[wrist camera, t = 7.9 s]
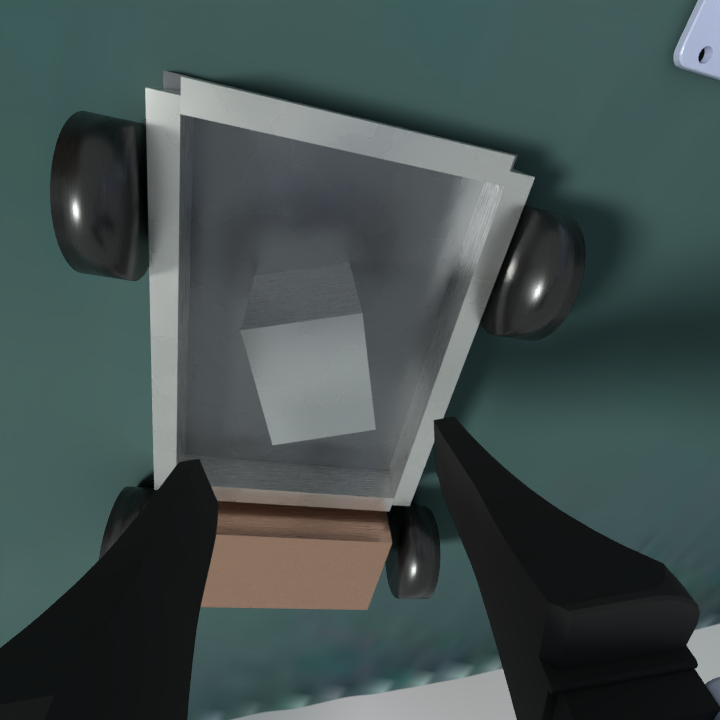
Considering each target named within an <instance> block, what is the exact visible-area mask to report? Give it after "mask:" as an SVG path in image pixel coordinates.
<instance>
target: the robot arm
mask: <svg viewBox="0 0 720 720" xmlns="http://www.w3.org/2000/svg"><path fill="white" fill-rule="evenodd" d="M702 49H704V52H705V54H704V57H703V59H702V60H701V62H699V60H698V56H699V53H700V52H701V50H702ZM674 63H675V65H676V66H677V67H679V68H681V69H684V70H687V71H691V72H694V73H697V74H701V75H704V76H707V77H710V78H714V79H717V80H720V0H698V1H697V3H696V6H695V8H694V10H693V12H692V14H691V16H690V18H689V21H688V23H687V25H686V27H685V29H684V31H683V34H682V36H681V38H680V40H679V42H678V44H677V46H676V49H675V52H674ZM434 442H435V464H436V471H437V475H438V478H439V482H440V485H441V489H442V492H443V496H444V499H445V501H446V504H447V506H448V509H449V511H450V514H451V516H452V519H453V521H454V524H455V526H456V528H457V531H458V533H459V536H460V538H461V540H462V543H463V545H464V548H465V550H466V553H467V555H468V557H469V560H470V562H471V565H472V568H473V570H474V573H475V576H476V579H477V582H478V585H479V588H480V592H481V595H482V598H483V601H484V605H485V608H486V611H487V615H488V618H489V621H490V625H491V628H492V632H493V635H494V638H495V642H496V645H497V649H498V652H499V656H500V659H501V663H502V667H503V670H504V674H505V677H506V681H507V684H508V688H509V691H510V695H511V699H512V703H513V707H514V710H515V714H516V718H517V720H720V677H718V678H715V679H713V680H711V681H709V682H707V683H706V684H704V682H703V681H702V679H701V678H700V676H699V675H698V673H697V672H696V670H695V669H694V668H697V666H698V664H697V661H696V659H695V658H694V656H693V655H692V653H691V652H690V650H689V649H688V648H687V646H686V644H687V643H688V641H689V639H690V637H691V635H692V633H693V631H694V629H695V627H696V625H697V622H698V618H699V614H700V612H699V608H698V605H697V603H696V602H695V601H694V600H693V598H692V597H691V596H690V594H689V593H688V592H687V590H686V589H685V588H684V586H683V585H682V584H681V583H680V582H679V580H678V579H677V578H676V577H675V576H674V575H673V574H672V573H671V572H670V571H669V570H668V568H667V567H666V566H665V565H664V564H663V563H661V562H659V561H656V560H654V559H652V558H650V557H648V556H645V555H643V554H641V553H639V552H637V551H634V550H632V549H630V548H628V547H625V546H623V545H621V544H619V543H617V542H615V541H613V540H611V539H610V538H608V537H606V536H604V535H602V534H600V533H598V532H596V531H594V530H593V529H591V528H589V527H587V526H586V525H584V524H582V523H581V522H579V521H577V520H576V519H574V518H572V517H571V516H569V515H567V514H566V513H564V512H562V511H561V510H559V509H558V508H556V507H555V506H553V505H552V504H550V503H549V502H548V501H546V500H545V499H543V498H542V497H541V496H539V495H538V494H536V493H535V492H534V491H532V490H531V489H530V488H528V487H527V486H526V485H525V484H523V483H522V482H521V481H520V480H518V479H517V478H516V477H515V476H514V475H512V474H511V473H510V472H509V471H508V470H507V469H505V468H504V467H503V466H502V465H501V464H500V463H499V462H498V461H497V460H496V459H495V458H493V457H492V456H491V455H490V454H489V453H488V452H487V451H486V450H485V449H484V448H483V447H482V446H481V445H480V444H479V443H478V442H477V441H476V440H475V439H474V438H473V437H472V436H471V435H470V434H469V433H468V432H467V430H466V429H465V428H464V427H463V426H462V425H461V424H460V423H459V421H458V420H457V419H456V418H454V417H449V418H443V419H437V420H434ZM218 509H219V504H218V501H217V499H216V497H215V494H214V492H213V490H212V487H211V485H210V483H209V480H208V478H207V476H206V473H205V471H204V469H203V466H202V464H201V462H200V459H194V460H188V461H182V462H179V463H178V464H177V465H176V467H175V468H174V469H173V471H172V472H171V473H170V474H169V476H168V477H167V478H166V480H165V481H164V482H163V484H162V485H161V486H160V488H159V489H158V490H157V492H156V493H155V494H154V495H153V497H152V498H151V499H150V501H149V502H148V503H147V504H146V506H145V507H144V508H143V510H142V511H141V512H140V513H139V515H138V516H137V517H136V518H135V520H134V521H133V522H132V523H131V524H130V526H129V527H128V528H127V529H126V530H125V531H124V533H123V534H122V535H121V536H120V537H119V538H118V540H117V541H116V542H115V543H114V544H113V545H112V547H111V548H110V549H109V550H108V551H107V552H106V553H105V554H104V555H103V556H102V558H101V559H100V560H99V561H98V562H97V563H96V564H95V565H94V566H93V567H92V568H91V569H90V570H89V571H88V572H87V573H86V574H85V575H84V576H83V577H82V578H81V579H80V580H79V581H78V582H77V583H76V584H75V585H74V586H73V587H71V588H70V589H69V590H68V591H67V592H66V593H65V594H64V595H63V596H62V597H60V598H59V599H58V600H57V601H56V602H55V603H54V604H53V605H52V606H50V607H49V608H48V609H47V610H46V611H45V612H44V613H43V614H42V615H40V616H39V617H38V618H37V619H36V620H34V621H33V622H32V623H31V624H30V625H28V626H27V627H26V628H25V629H24V630H22V631H21V632H20V633H19V634H17V635H16V636H15V637H14V638H12V639H11V640H10V641H9V642H7V643H6V644H5V645H3V646H2V647H1V648H0V720H187V715H188V702H189V691H190V681H191V671H192V661H193V653H194V645H195V637H196V629H197V623H198V617H199V612H200V607H201V603H202V598H203V594H204V589H205V585H206V580H207V576H208V571H209V567H210V563H211V558H212V553H213V549H214V544H215V539H216V532H217V522H218Z"/></svg>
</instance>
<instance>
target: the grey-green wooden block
mask: <svg viewBox="0 0 720 720" xmlns="http://www.w3.org/2000/svg"><path fill="white" fill-rule="evenodd" d="M240 331H241V334H242V338H243V341H244V345H245V349H246V352H247V356H248V359H249V363H250V366H251V370H252V374H253V377H254V381H255V384H256V388H257V391H258V395H259V399H260V402H261V406H262V409H263V413H264V416H265V420H266V424H267V427H268V431H269V434H270V438H271V442H272V445H278V444H285V443H291V442H298V441H304V440H311V439H317V438H324V437H331V436H337V435H344V434H350V433H357V432H363V431H370V430H376V427H375V418H374V409H373V401H372V392H371V383H370V375H369V366H368V357H367V348H366V340H365V331H364V322H363V313H362V309H361V305H360V301H359V298H358V294H357V290H356V286H355V282H354V278H353V274H352V270H351V267H350V263H343V264H335V265H328V266H321V267H314V268H307V269H299V270H292V271H285V272H278V273H271V274H264V275H256V276H255V278H254V281H253V285H252V289H251V293H250V296H249V300H248V304H247V308H246V311H245V315H244V319H243V323H242V326H241V330H240Z"/></svg>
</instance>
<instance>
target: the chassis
mask: <svg viewBox="0 0 720 720" xmlns="http://www.w3.org/2000/svg"><path fill="white" fill-rule="evenodd" d="M145 93H146V126H145V125H144V124H142V123H138V122H133V121H129V120H124V119H119V118H115V117H110V116H105V115H101V114H96V113H91V112H87V111H79V112H76V113H75V114H73V115H72V116H71V117H70V118H69V119H68V120H67V121H66V123H65V124H64V126H63V128H62V130H61V132H60V134H59V137H58V140H57V143H56V147H55V151H54V155H53V161H52V168H51V181H50V200H51V213H52V220H53V226H54V230H55V235H56V238H57V241H58V245H59V247H60V250H61V252H62V254H63V256H64V258H65V260H66V261H67V263H68V264H69V265H70V266H71V267H72V268H73V269H74V270H75V271H77V272H80V273H84V274H91V275H97V276H104V277H111V278H117V279H124V280H131V281H137V280H139V279H140V278H141V277H143V275H144V274H145V273H146V271H147V269H148V267H149V275H150V321H151V366H152V411H153V457H154V488H144V487H129V486H127V487H125V488H124V489H123V490H122V491H121V492H120V494H119V496H118V497H117V499H116V501H115V503H114V506H113V508H112V510H111V513H110V516H109V519H108V522H107V525H106V528H105V532H104V536H103V540H102V545H101V550H100V556H99V560H100V559H101V558H102V556H103V555H104V554H105V553H106V552H107V551H108V550H109V549H110V548H111V547H112V545H113V544H114V543H115V542H116V541H117V540H118V538H119V537H120V536H121V535H122V534H123V533H124V531H125V530H126V529H127V528H128V527H129V526H130V524H131V523H132V522H133V521H134V520H135V518H136V517H137V516H138V515H139V513H140V512H141V511H142V510H143V508H144V507H145V506H146V504H147V503H148V502H149V501H150V499H151V498H152V497H153V495H154V494H155V493H156V492H157V490H158V489H159V488H160V486H161V485H162V484H163V482H164V481H165V480H166V478H167V477H168V476H169V474H170V473H171V472H172V471H173V469H174V468H175V467H176V465H177V464H178V463H179V462H182V461H188V460H194V459H200V462H201V464H202V466H203V469H204V471H205V473H206V476H207V478H208V480H209V483H210V485H211V487H212V490H213V492H214V494H215V497H216V499H217V501H218V504H219V509H218V522H217V532H216V539H215V544H214V549H213V553H212V558H211V563H210V567H209V571H208V576H207V580H206V585H205V589H204V594H203V598H202V603H201V607H233V608H292V609H350V610H367V609H368V606H369V604H370V601H371V598H372V596H373V593H374V590H375V588H376V585H377V582H378V580H379V577H380V574H381V572H382V569H383V566H384V564H385V562H386V572H387V578H388V583H389V587H390V589H391V592H392V594H393V595H394V597H396V598H398V599H428V598H430V597H431V596H432V594H433V592H434V590H435V588H436V585H437V581H438V576H439V569H440V541H439V533H438V528H437V524H436V521H435V518H434V516H433V513H432V512H431V510H430V509H429V508H428V507H426V506H417V505H410V504H411V501H412V499H413V496H414V494H415V491H416V488H417V486H418V483H419V480H420V478H421V475H422V473H423V470H424V467H425V465H426V462H427V459H428V457H429V454H430V452H431V449H432V446H433V444H434V420H437V419H443V417H444V415H445V412H446V410H447V407H448V404H449V402H450V399H451V396H452V394H453V391H454V389H455V386H456V383H457V381H458V378H459V376H460V373H461V370H462V368H463V365H464V362H465V360H466V357H467V355H468V352H469V349H470V347H471V344H472V341H473V339H474V336H475V334H476V331H477V328H478V326H479V323H481V325H482V327H483V328H484V329H485V331H486V332H488V333H489V334H492V335H497V336H504V337H510V338H517V339H524V340H532V341H535V340H540V339H542V338H545V337H546V336H548V335H550V334H551V333H552V332H553V331H555V330H556V329H557V328H558V327H559V326H560V324H561V323H562V322H563V321H564V319H565V318H566V316H567V315H568V313H569V312H570V310H571V308H572V306H573V304H574V302H575V300H576V297H577V295H578V292H579V289H580V286H581V282H582V278H583V273H584V267H585V244H584V238H583V234H582V232H581V229H580V227H579V225H578V224H577V222H576V221H575V220H574V219H573V218H571V217H570V216H568V215H565V214H560V213H556V212H551V211H546V210H542V209H537V208H533V207H528V206H524V205H525V202H526V200H527V197H528V195H529V192H530V189H531V187H532V184H533V181H534V179H535V177H533V176H530V175H528V174H525V173H522V172H520V171H517V170H515V169H513V167H514V164H515V161H516V159H517V156H518V155H515V154H512V153H508V152H503V151H499V150H495V149H491V148H487V147H483V146H478V145H474V144H470V143H466V142H462V141H457V140H453V139H449V138H445V137H441V136H437V135H432V134H428V133H424V132H420V131H416V130H412V129H407V128H403V127H399V126H395V125H391V124H386V123H382V122H378V121H374V120H370V119H366V118H361V117H357V116H353V115H349V114H345V113H340V112H336V111H332V110H328V109H324V108H320V107H315V106H311V105H307V104H303V103H299V102H295V101H290V100H286V99H282V98H278V97H274V96H269V95H265V94H261V93H257V92H253V91H249V90H244V89H240V88H236V87H232V86H228V85H224V84H219V83H215V82H211V81H207V80H203V79H198V78H194V77H190V76H186V75H182V74H178V73H173V72H169V71H164V70H163V88H145ZM343 263H350V267H351V270H352V274H353V278H354V282H355V286H356V290H357V294H358V298H359V301H360V305H361V309H362V313H363V322H364V331H365V340H366V348H367V357H368V366H369V375H370V383H371V392H372V401H373V409H374V418H375V427H376V430H370V431H363V432H357V433H350V434H344V435H337V436H331V437H324V438H317V439H311V440H304V441H298V442H291V443H285V444H278V445H272V442H271V438H270V434H269V431H268V427H267V424H266V420H265V416H264V413H263V409H262V406H261V402H260V399H259V395H258V391H257V388H256V384H255V381H254V377H253V374H252V370H251V366H250V363H249V359H248V356H247V352H246V349H245V345H244V341H243V338H242V334H241V331H240V330H241V326H242V323H243V319H244V315H245V311H246V308H247V304H248V300H249V296H250V293H251V289H252V285H253V281H254V278H255V276H256V275H264V274H271V273H278V272H285V271H292V270H299V269H307V268H314V267H321V266H328V265H335V264H343ZM392 505H396V506H395V507H394V508H393V510H392V512H391V514H390V517H389V521H388V518H387V513H386V511H389V512H390V509H391V506H392Z"/></svg>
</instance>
